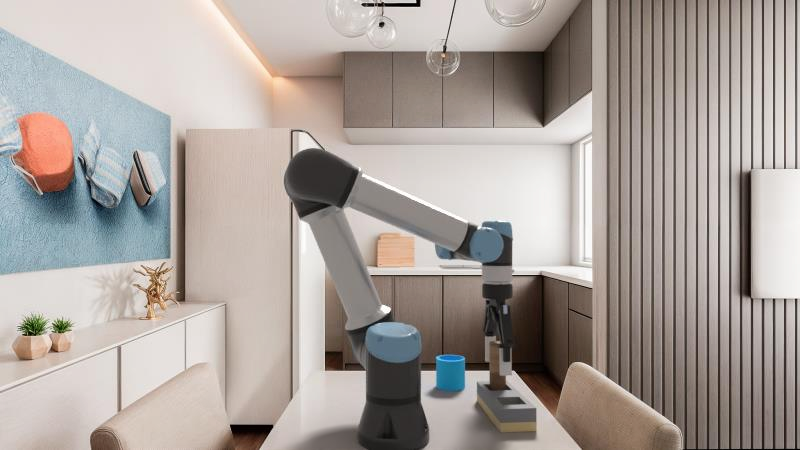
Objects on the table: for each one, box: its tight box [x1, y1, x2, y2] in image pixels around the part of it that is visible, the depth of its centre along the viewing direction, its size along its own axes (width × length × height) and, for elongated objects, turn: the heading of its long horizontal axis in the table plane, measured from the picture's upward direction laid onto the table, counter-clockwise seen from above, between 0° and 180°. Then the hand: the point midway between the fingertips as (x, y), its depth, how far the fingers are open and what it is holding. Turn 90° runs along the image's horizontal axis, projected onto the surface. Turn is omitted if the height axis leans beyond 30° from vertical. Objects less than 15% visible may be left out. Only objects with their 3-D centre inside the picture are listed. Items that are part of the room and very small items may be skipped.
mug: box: [435, 354, 466, 392], centre depth 152 cm, size 12×8×8 cm
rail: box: [476, 380, 538, 433], centre depth 126 cm, size 22×8×5 cm, turn 5°
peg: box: [488, 340, 507, 391], centre depth 132 cm, size 4×4×14 cm
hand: (497, 368), depth 132 cm, fingers open, 13 cm apart
